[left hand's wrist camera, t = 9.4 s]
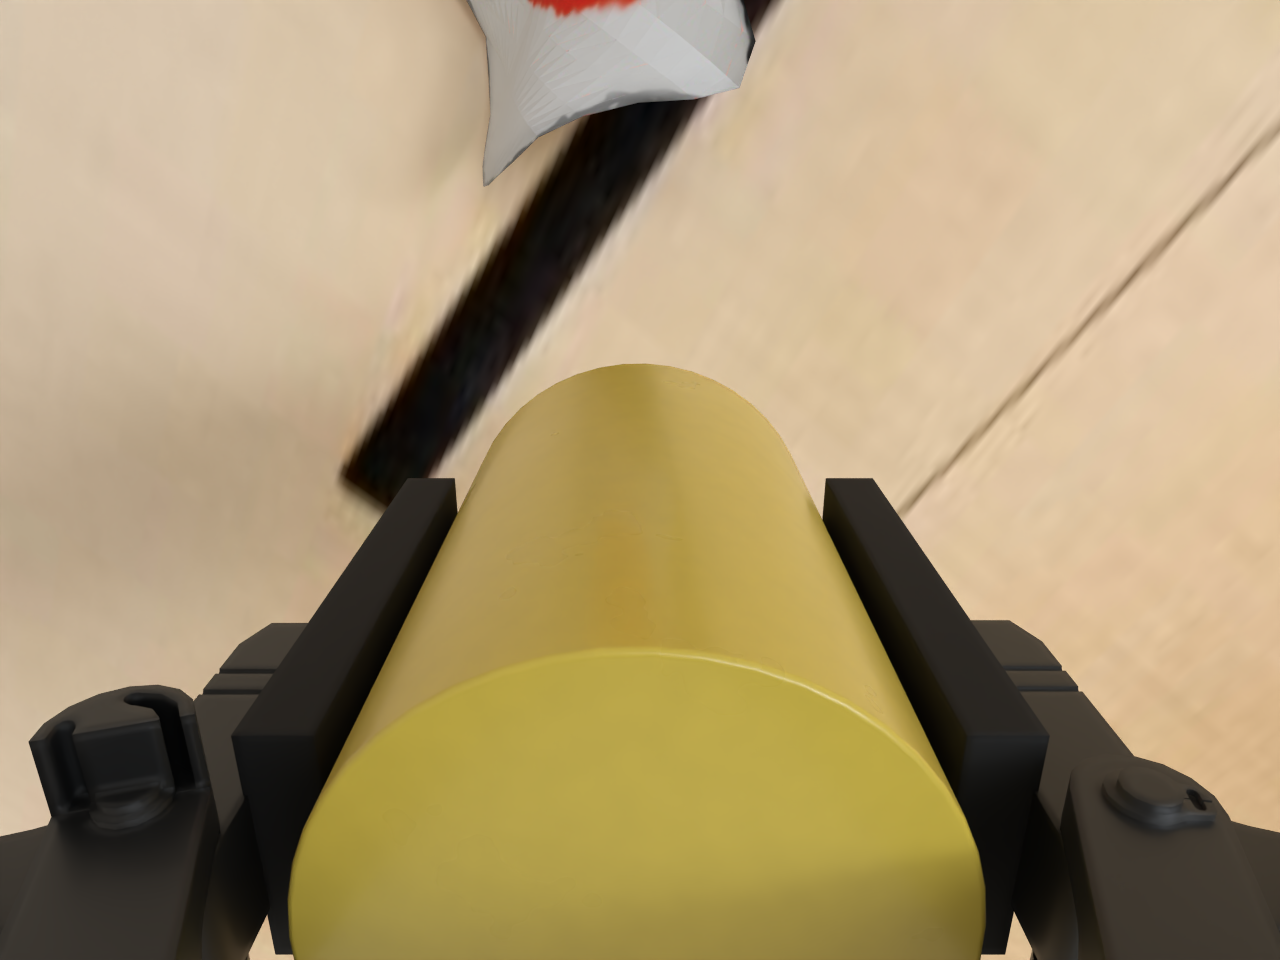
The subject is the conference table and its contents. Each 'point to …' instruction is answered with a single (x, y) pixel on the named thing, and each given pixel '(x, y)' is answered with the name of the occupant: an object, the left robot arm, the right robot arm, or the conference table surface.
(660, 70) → the fish
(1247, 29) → the conference table surface
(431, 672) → the canister
